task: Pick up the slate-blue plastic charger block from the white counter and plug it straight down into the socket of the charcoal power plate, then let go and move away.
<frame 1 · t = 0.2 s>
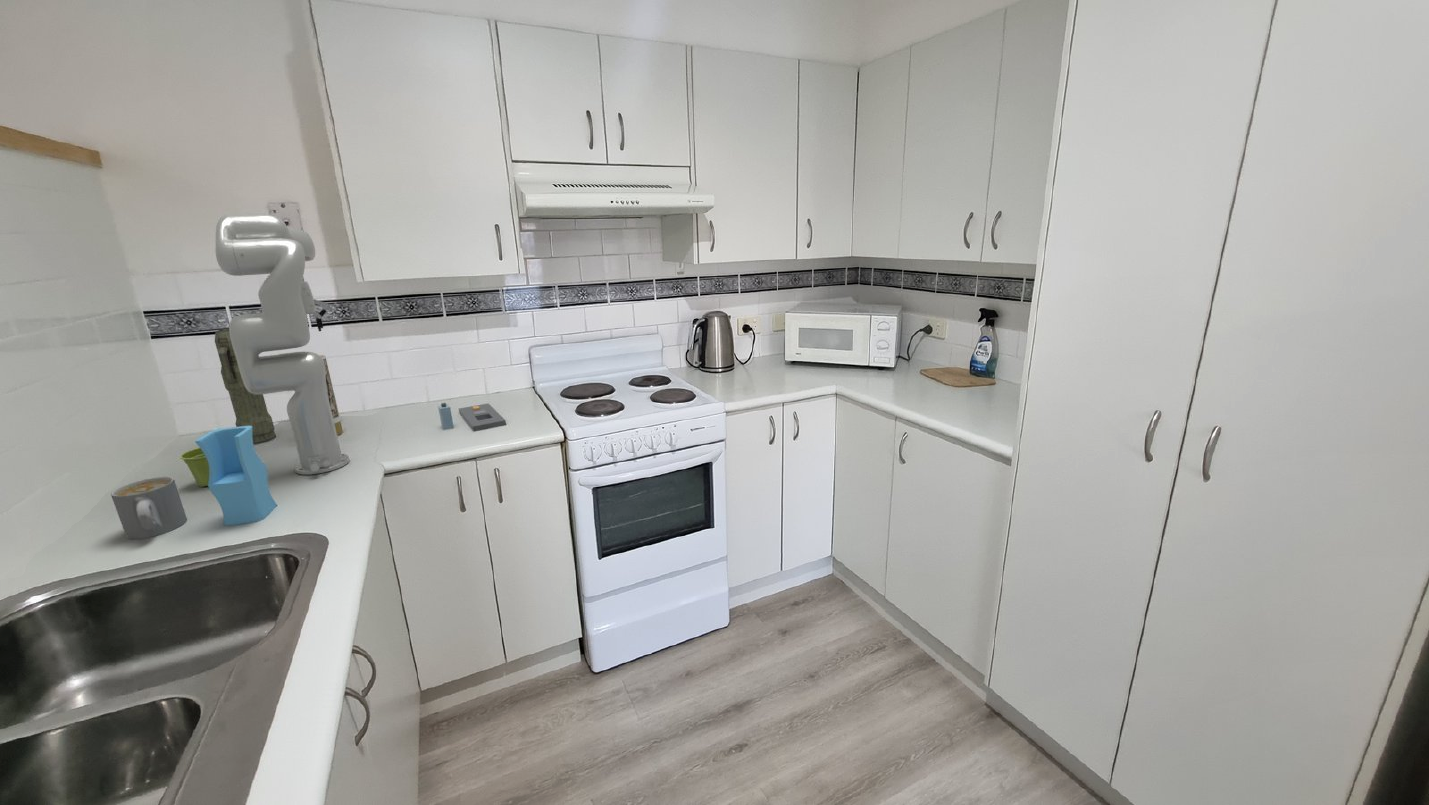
hand: (302, 332, 187), 31 cm above the table, tool pointing down, fingers open, 9 cm apart
plant pot: (214, 483, 151), on the table
olive-green tall carved figure: (259, 440, 182), on the table
charger: (447, 427, 188), on the table
coffee mug: (154, 531, 126), on the table
power plate: (481, 418, 195), on the table
blue toy armchair: (250, 516, 132), on the table
paper tube: (330, 435, 185), on the table
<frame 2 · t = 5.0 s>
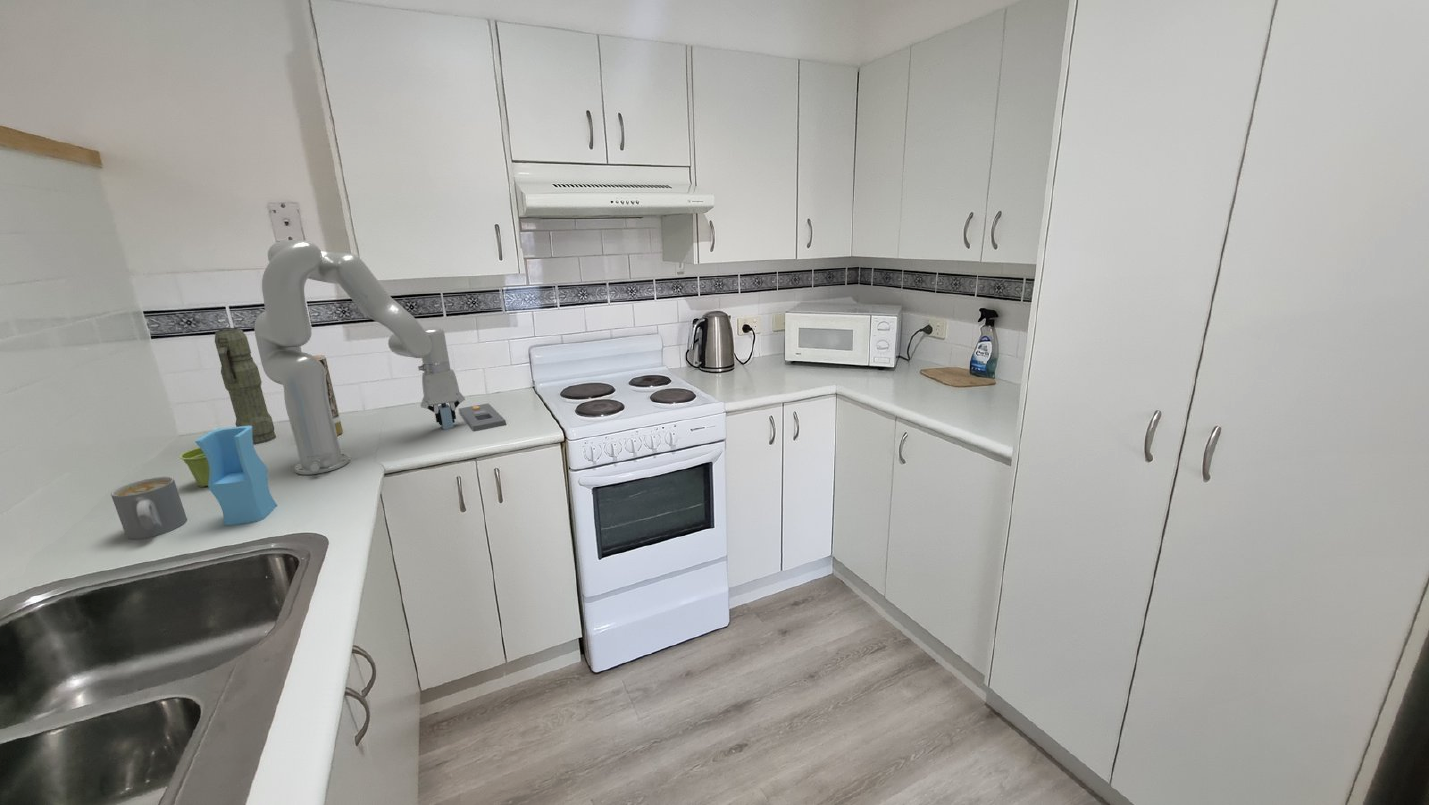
hand: (446, 422, 187), 2 cm above the table, tool pointing down, fingers closed on charger, 3 cm apart
charger: (447, 427, 188), on the table, touching gripper
everything else where it was.
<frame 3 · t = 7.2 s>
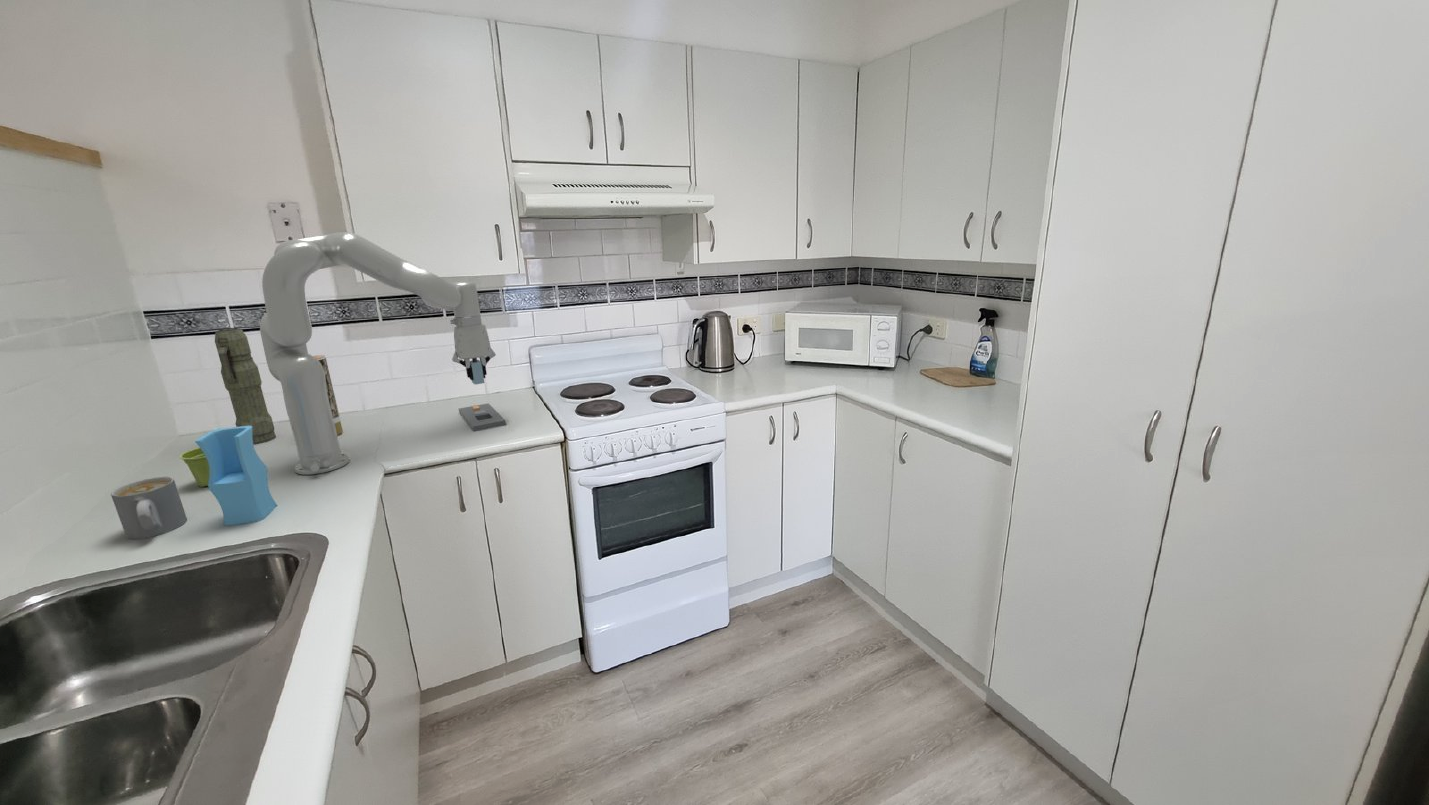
hand: (477, 377, 188), 15 cm above the table, tool pointing down, fingers closed on charger, 3 cm apart
charger: (478, 382, 188), point 13 cm above the table, touching gripper
everything else where it was.
when the fingers open (2 cm above the table, at t = 9.7 s): charger stays where it is, resting in power plate.
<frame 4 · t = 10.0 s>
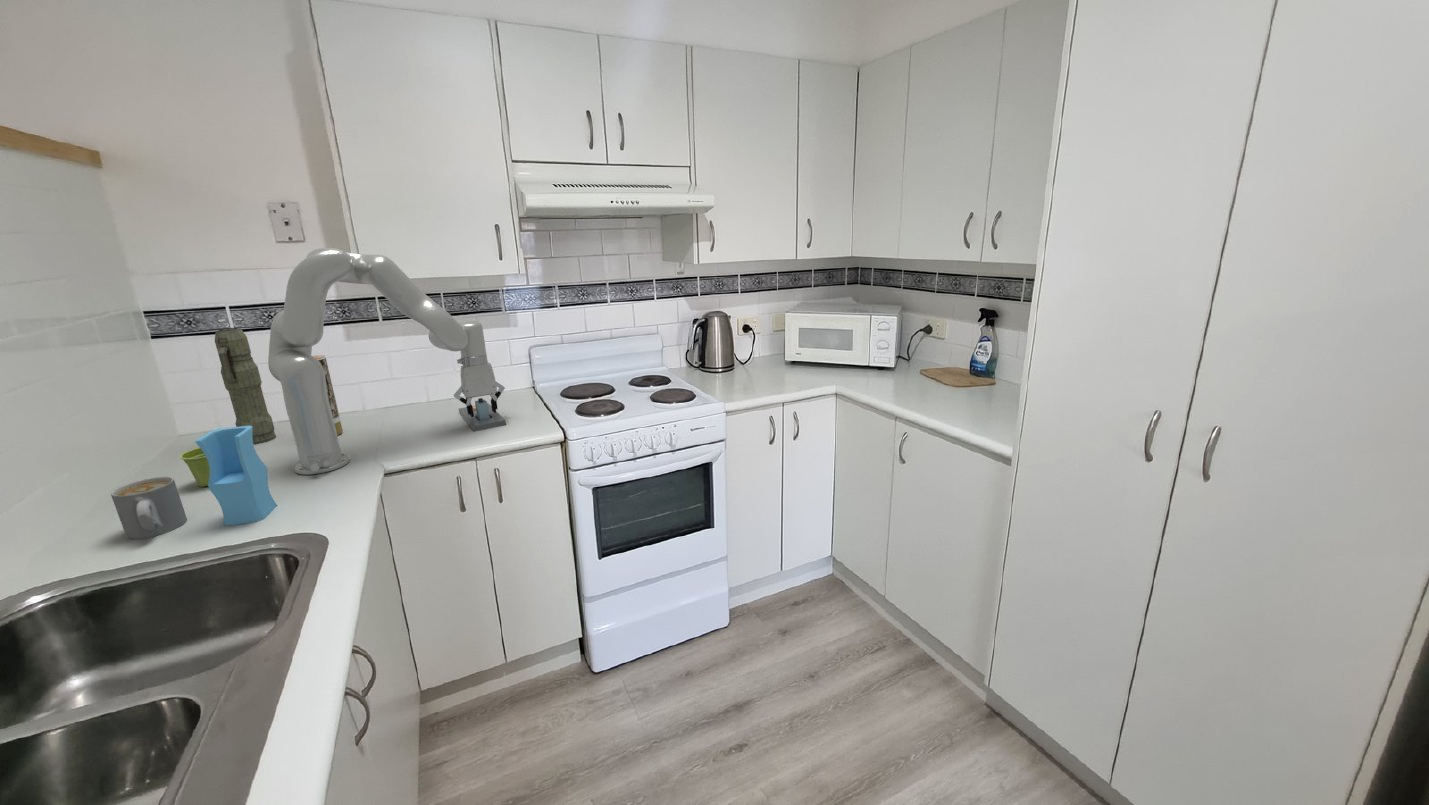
hand: (483, 413, 191), 3 cm above the table, tool pointing down, fingers open, 6 cm apart
charger: (484, 421, 192), resting in power plate
everything else where it was.
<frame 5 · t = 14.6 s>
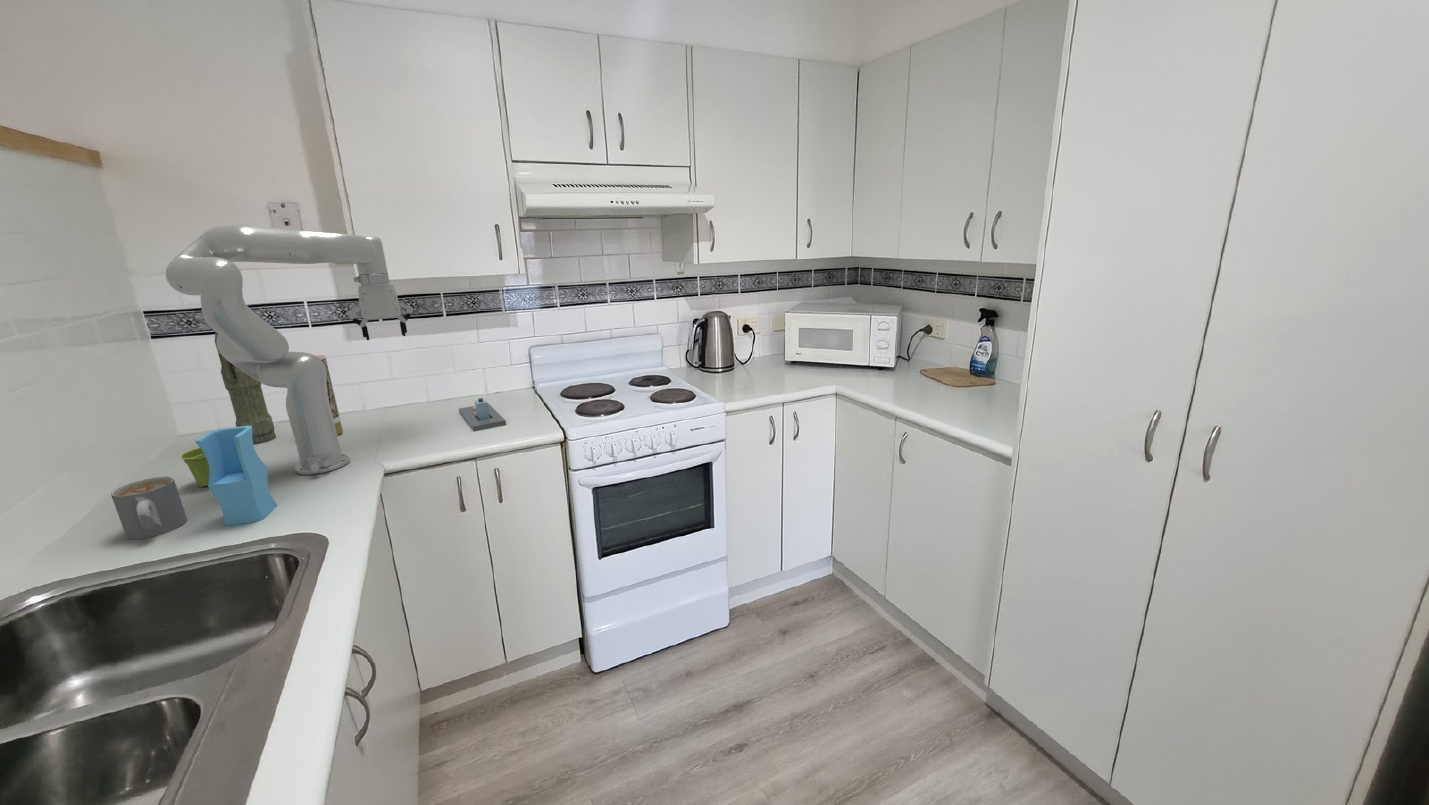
hand: (386, 337, 176), 30 cm above the table, tool pointing down, fingers open, 9 cm apart
nothing on the table moved.
at the end: charger 0.1 cm from the target spot on the power plate, point 0.0 cm above the power plate's base; charger tilted 0°; the gripper is holding nothing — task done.
